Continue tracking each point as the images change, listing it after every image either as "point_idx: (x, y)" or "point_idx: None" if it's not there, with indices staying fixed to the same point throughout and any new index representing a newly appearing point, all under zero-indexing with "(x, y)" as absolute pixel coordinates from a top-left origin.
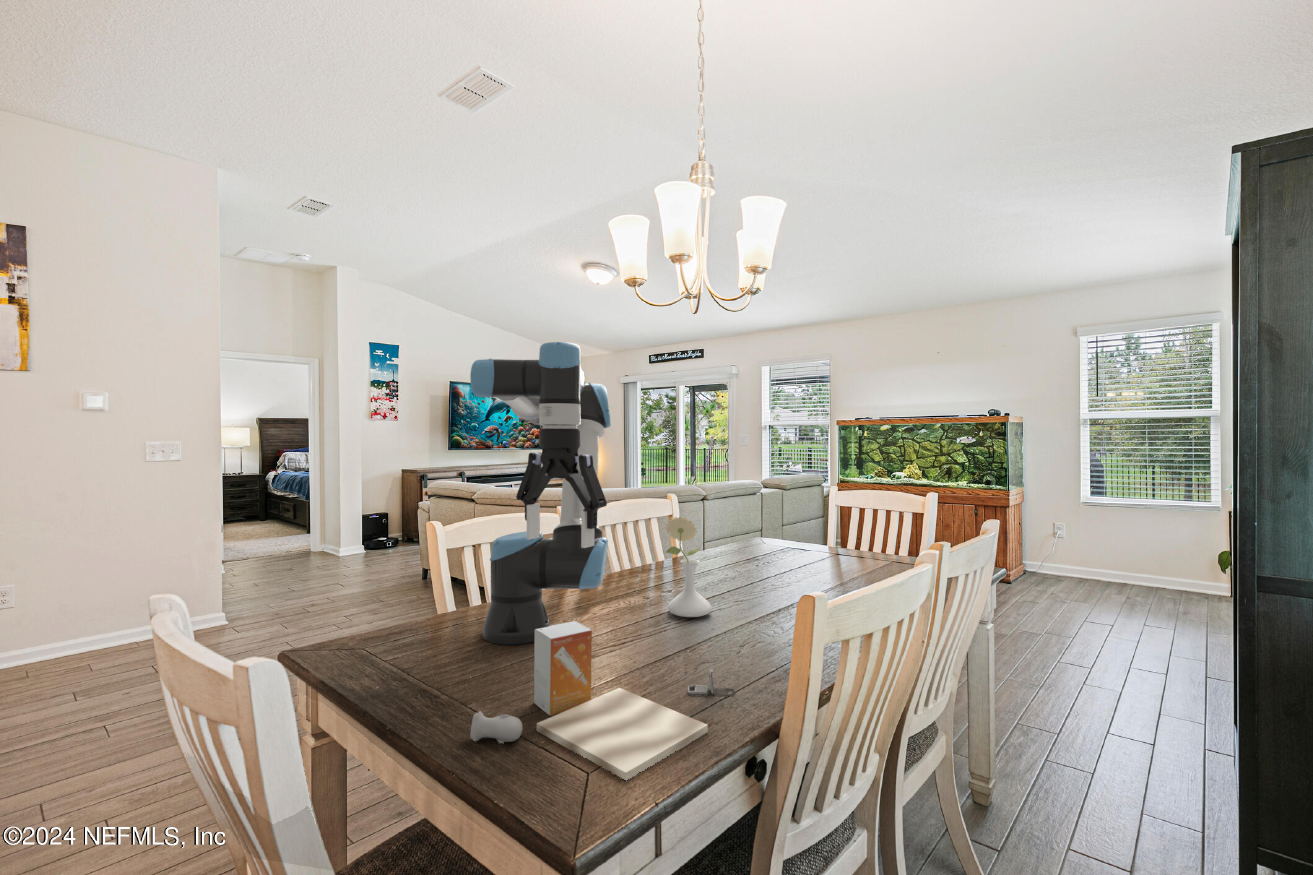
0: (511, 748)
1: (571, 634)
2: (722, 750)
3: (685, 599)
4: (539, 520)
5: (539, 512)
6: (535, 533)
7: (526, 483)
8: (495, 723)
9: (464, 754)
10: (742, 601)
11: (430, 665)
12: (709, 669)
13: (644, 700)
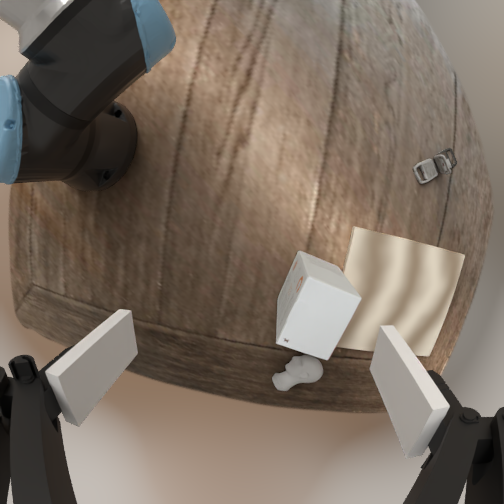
0: None
1: (344, 331)
2: (475, 274)
3: None
4: (100, 340)
5: (81, 356)
6: (126, 336)
7: (9, 471)
8: (301, 382)
9: (291, 393)
10: None
11: (101, 282)
12: (444, 157)
13: (398, 242)
